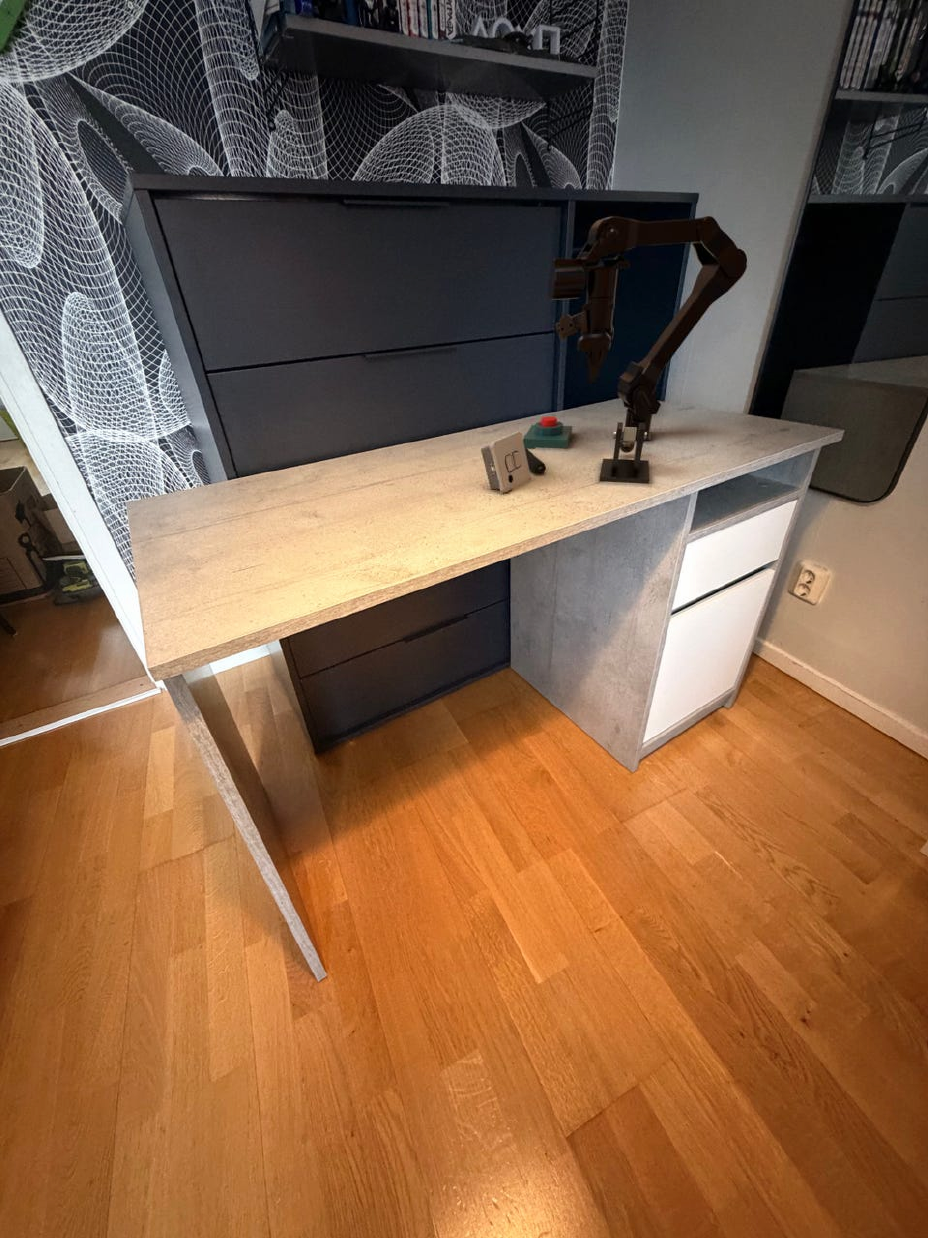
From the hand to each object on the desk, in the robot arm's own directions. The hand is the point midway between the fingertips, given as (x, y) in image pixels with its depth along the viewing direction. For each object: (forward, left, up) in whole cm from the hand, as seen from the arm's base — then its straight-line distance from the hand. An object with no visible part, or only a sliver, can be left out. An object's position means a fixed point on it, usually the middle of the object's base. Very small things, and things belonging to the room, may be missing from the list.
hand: (592, 381), depth 108 cm
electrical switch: (+30, -13, -13) cm, 35 cm away
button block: (+1, -9, -13) cm, 16 cm away
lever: (+17, +9, -9) cm, 21 cm away
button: (+1, -9, -9) cm, 13 cm away
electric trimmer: (+18, -11, -13) cm, 25 cm away
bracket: (+21, +9, -13) cm, 26 cm away
